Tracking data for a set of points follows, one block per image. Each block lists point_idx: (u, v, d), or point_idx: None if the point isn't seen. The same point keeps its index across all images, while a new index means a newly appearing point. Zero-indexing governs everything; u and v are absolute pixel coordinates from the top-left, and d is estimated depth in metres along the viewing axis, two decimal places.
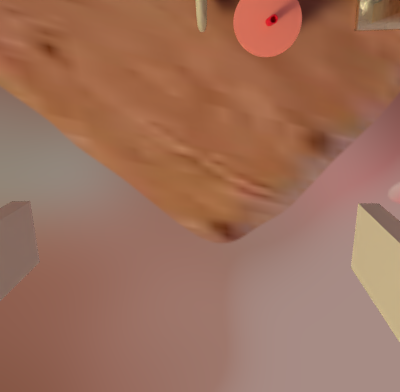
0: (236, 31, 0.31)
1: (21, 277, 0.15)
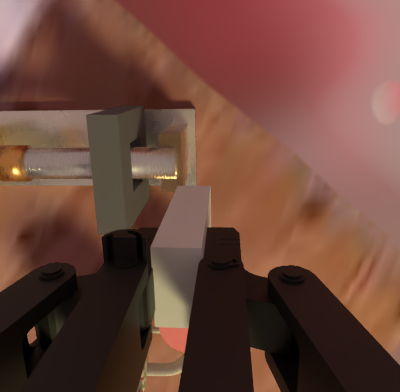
0: None
1: None
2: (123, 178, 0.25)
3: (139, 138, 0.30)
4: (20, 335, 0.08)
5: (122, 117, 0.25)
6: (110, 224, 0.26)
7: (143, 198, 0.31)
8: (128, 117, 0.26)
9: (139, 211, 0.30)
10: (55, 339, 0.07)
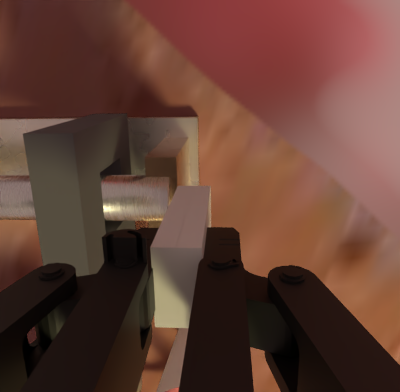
0: None
1: None
2: (85, 231, 0.16)
3: (118, 160, 0.21)
4: (20, 335, 0.08)
5: (83, 137, 0.16)
6: None
7: None
8: (96, 134, 0.17)
9: None
10: (55, 339, 0.07)
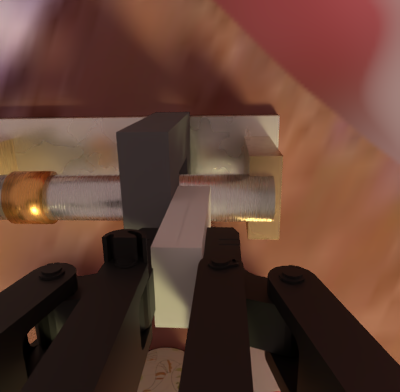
0: None
1: None
2: None
3: (185, 160, 0.21)
4: (20, 335, 0.08)
5: (172, 135, 0.15)
6: None
7: None
8: (177, 133, 0.17)
9: None
10: (55, 339, 0.07)
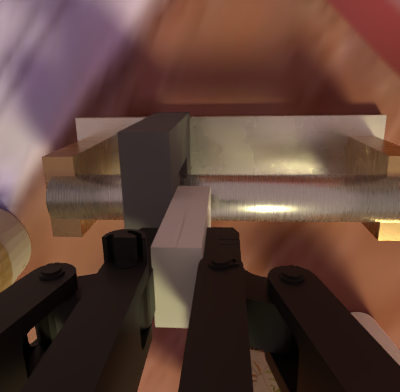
0: None
1: None
2: None
3: (185, 160, 0.21)
4: (20, 335, 0.08)
5: (172, 135, 0.15)
6: None
7: None
8: (178, 133, 0.17)
9: None
10: (55, 339, 0.07)
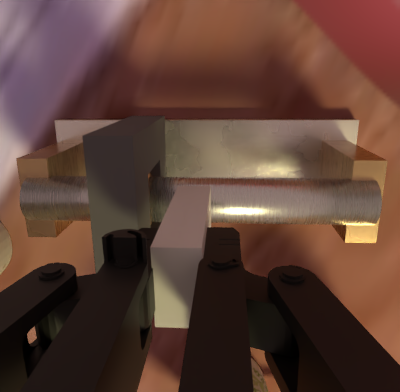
0: None
1: None
2: None
3: (158, 162, 0.21)
4: (20, 335, 0.08)
5: (138, 139, 0.16)
6: None
7: None
8: (146, 136, 0.18)
9: None
10: (55, 339, 0.07)
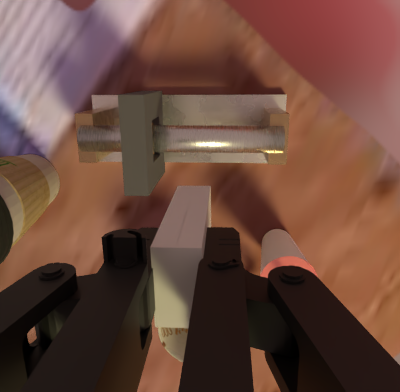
0: None
1: None
2: (146, 148, 0.30)
3: (158, 118, 0.35)
4: (20, 335, 0.08)
5: (146, 98, 0.30)
6: (135, 187, 0.31)
7: (160, 170, 0.36)
8: (150, 98, 0.31)
9: (157, 180, 0.35)
10: (55, 339, 0.07)
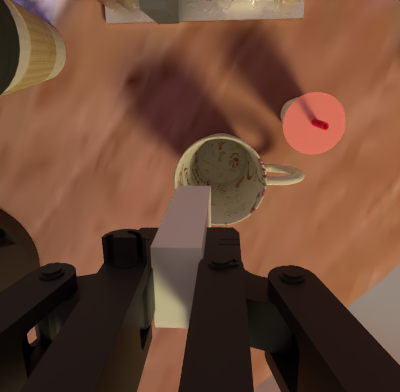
0: (320, 152, 0.34)
1: None
2: None
3: None
4: (20, 335, 0.08)
5: None
6: None
7: (175, 11, 0.34)
8: None
9: (172, 14, 0.33)
10: (55, 339, 0.07)
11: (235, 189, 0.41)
